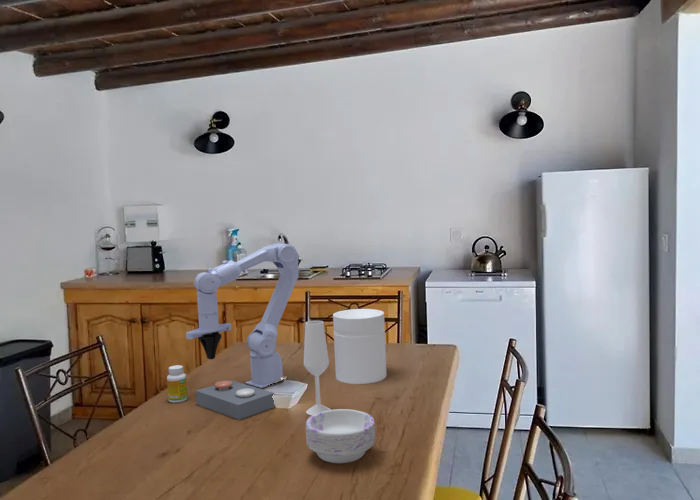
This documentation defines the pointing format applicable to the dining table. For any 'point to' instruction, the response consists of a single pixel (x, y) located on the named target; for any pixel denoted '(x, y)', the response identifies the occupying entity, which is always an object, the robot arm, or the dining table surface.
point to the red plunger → (223, 385)
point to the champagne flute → (315, 358)
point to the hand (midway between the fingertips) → (211, 358)
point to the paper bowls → (340, 434)
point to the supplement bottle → (177, 384)
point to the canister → (359, 346)
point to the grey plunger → (244, 393)
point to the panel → (235, 400)
